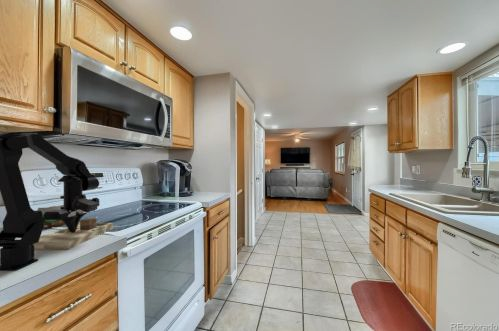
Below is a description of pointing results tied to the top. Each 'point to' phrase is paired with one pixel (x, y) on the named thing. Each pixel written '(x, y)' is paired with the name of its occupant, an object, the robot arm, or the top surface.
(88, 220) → the walnut block
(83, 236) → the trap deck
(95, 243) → the top surface
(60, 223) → the food container
